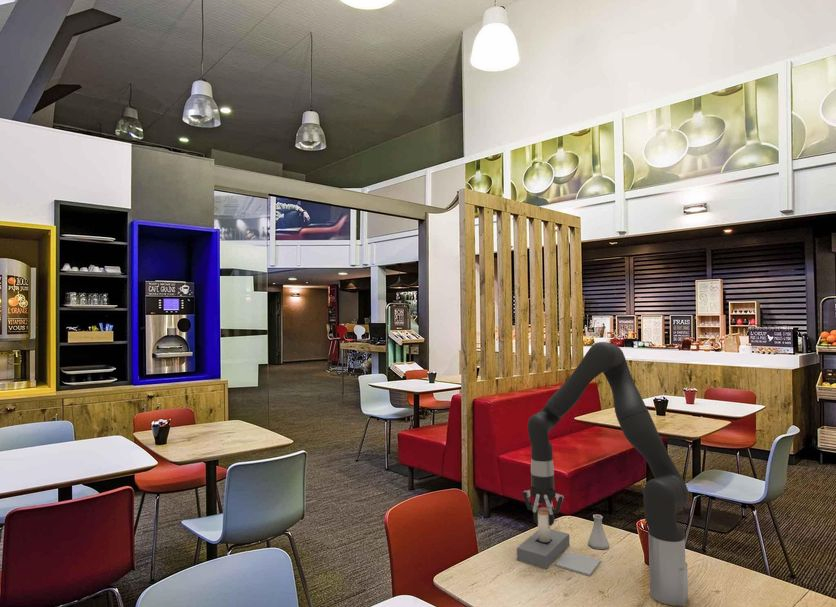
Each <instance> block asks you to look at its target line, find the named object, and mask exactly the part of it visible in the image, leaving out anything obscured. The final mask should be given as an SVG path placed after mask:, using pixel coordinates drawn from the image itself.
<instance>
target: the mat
mask: <svg viewBox="0 0 836 607" xmlns="http://www.w3.org/2000/svg"><path fill="white" fill-rule="evenodd" d="M601 563H602V560H601V559H599V558H596V557H591V556H588V555H583V554H580V553H576V552H573V551H569V550H567V551H566V552H565V553H564V554H563V556H561V557H560V558H559V559H558V560H557V561H556V562H555V563H554V566H555V567H558V568H560V569H564V570H568V571H569V572H570V571H571V572H575V573H577V574H581V575H585V576H588V577H590V576H591V575H593V573H594V572H595V570H596V569H597V568H598V567H599V565H600V564H601Z"/></svg>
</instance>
